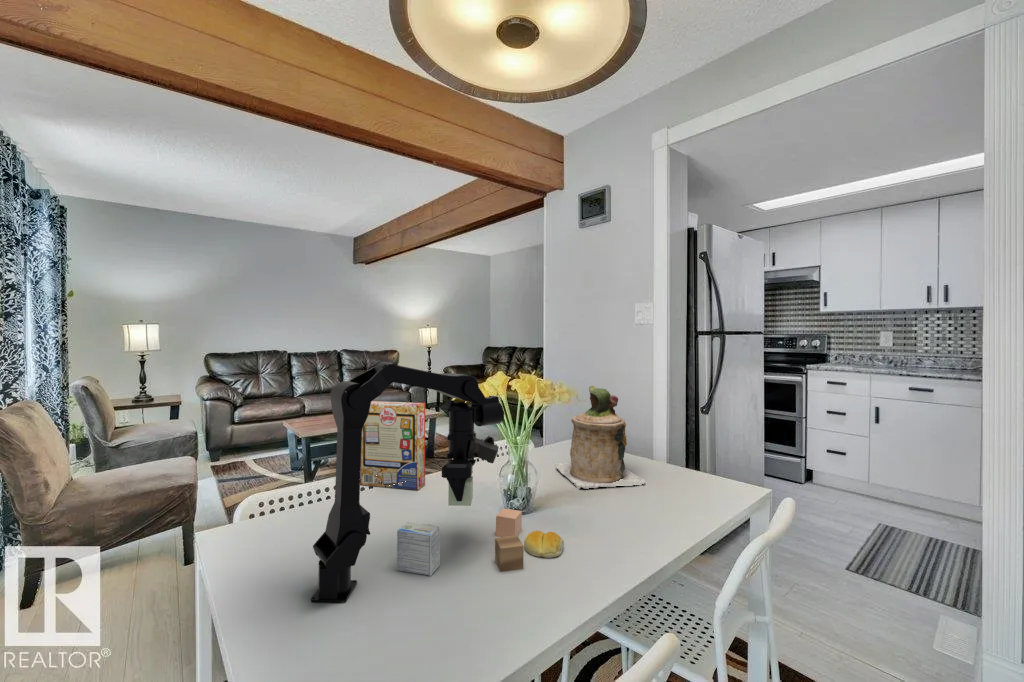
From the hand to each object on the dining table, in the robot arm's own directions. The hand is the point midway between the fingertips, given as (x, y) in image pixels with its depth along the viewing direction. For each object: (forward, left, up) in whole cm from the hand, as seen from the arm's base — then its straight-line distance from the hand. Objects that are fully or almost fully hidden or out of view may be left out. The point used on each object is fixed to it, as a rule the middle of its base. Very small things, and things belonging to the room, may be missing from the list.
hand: (460, 496), depth 101 cm
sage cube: (0, 0, -1) cm, 1 cm away
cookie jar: (+53, -42, -12) cm, 69 cm away
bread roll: (0, -19, -12) cm, 23 cm away
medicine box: (-9, +8, -12) cm, 17 cm away
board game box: (+42, +27, -12) cm, 52 cm away
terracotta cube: (+8, -11, -12) cm, 19 cm away
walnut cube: (-7, -11, -12) cm, 18 cm away
